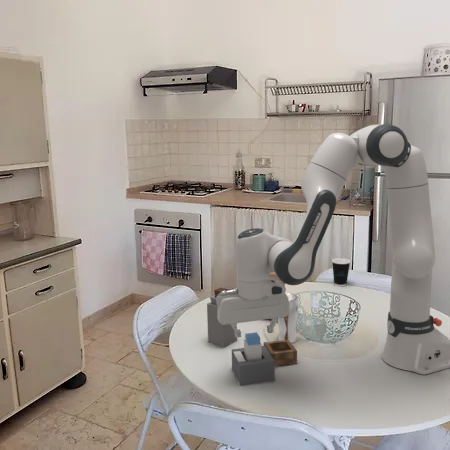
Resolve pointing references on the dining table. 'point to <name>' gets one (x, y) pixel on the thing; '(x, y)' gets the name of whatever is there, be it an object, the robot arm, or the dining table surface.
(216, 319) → the perfume bottle
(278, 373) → the dining table surface
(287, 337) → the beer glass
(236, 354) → the port
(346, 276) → the dixie cup
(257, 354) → the plug
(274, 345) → the holster
